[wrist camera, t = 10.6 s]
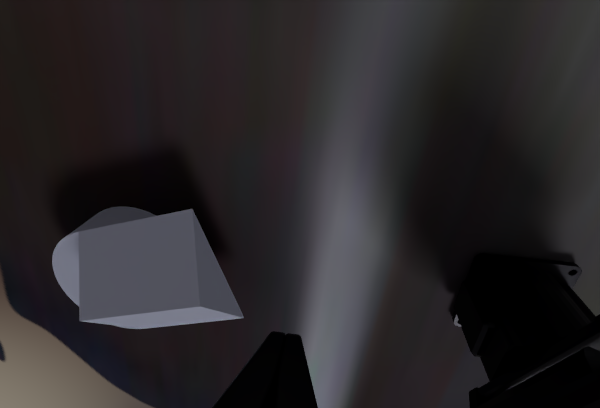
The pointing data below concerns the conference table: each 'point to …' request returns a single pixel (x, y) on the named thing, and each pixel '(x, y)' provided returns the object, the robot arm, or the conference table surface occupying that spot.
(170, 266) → the wedge on round base
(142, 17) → the conference table surface
